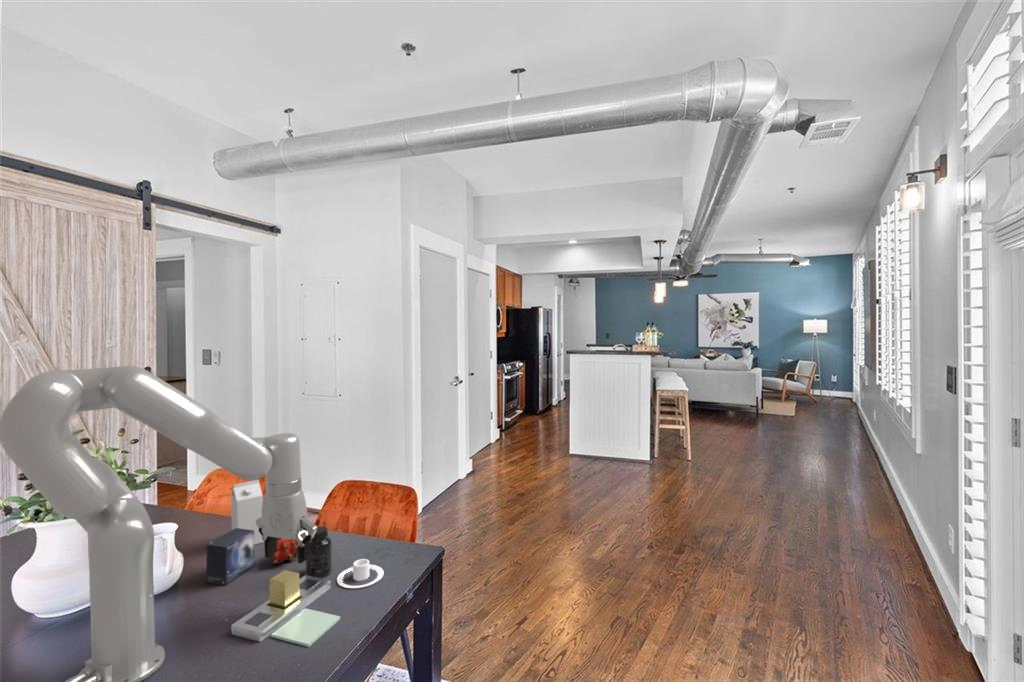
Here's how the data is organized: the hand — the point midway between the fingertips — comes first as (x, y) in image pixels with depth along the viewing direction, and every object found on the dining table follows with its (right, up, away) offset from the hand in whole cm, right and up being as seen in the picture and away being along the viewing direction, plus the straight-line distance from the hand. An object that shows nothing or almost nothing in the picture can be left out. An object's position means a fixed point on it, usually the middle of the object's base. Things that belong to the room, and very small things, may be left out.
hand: (287, 557), depth 113 cm
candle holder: (+13, -12, +14) cm, 23 cm away
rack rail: (-1, -12, 0) cm, 12 cm away
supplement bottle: (+1, -12, +16) cm, 20 cm away
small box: (-23, -12, +16) cm, 30 cm away
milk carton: (-29, -11, +35) cm, 47 cm away
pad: (+8, -12, -7) cm, 16 cm away
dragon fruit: (-12, -12, +24) cm, 29 cm away
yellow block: (-1, -12, 0) cm, 12 cm away
